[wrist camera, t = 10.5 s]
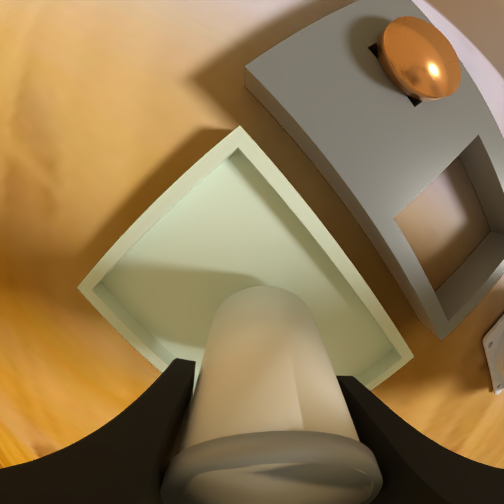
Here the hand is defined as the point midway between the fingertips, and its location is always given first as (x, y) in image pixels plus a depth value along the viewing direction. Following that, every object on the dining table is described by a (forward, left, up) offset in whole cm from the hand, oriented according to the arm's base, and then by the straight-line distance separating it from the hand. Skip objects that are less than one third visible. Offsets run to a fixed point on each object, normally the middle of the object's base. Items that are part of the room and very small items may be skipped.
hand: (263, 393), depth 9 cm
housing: (+1, -11, -5) cm, 12 cm away
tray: (0, 0, -5) cm, 5 cm away
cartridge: (0, 0, -4) cm, 4 cm away
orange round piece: (+5, -13, -5) cm, 14 cm away
